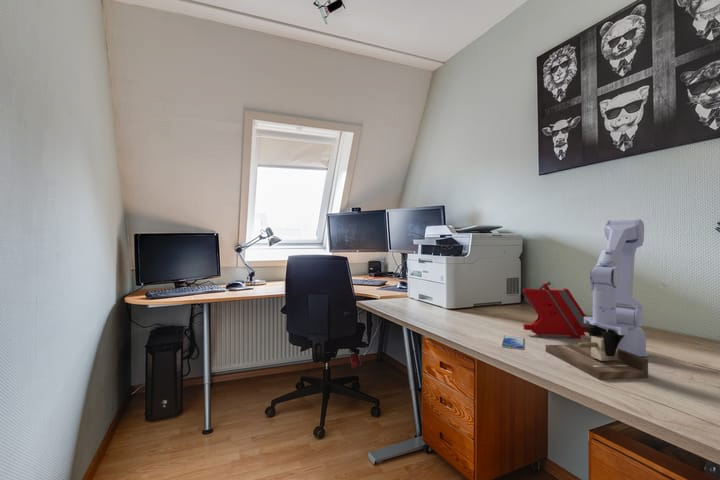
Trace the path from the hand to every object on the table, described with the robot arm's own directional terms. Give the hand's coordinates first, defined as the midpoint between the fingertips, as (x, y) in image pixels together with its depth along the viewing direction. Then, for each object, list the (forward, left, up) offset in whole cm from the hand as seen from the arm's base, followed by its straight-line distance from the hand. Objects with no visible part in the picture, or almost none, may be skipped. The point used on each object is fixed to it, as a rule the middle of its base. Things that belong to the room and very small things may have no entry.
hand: (604, 353), depth 103 cm
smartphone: (+14, -25, -5) cm, 29 cm away
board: (+1, -3, -4) cm, 5 cm away
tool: (-10, -32, -4) cm, 34 cm away
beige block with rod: (+2, 0, -1) cm, 3 cm away
